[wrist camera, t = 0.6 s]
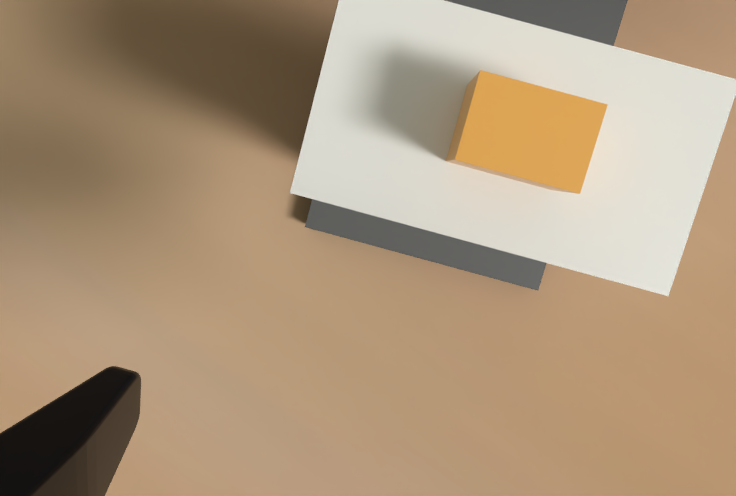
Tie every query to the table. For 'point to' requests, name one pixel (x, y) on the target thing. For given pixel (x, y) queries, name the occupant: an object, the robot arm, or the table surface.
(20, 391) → the table surface
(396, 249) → the grey block
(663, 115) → the block
